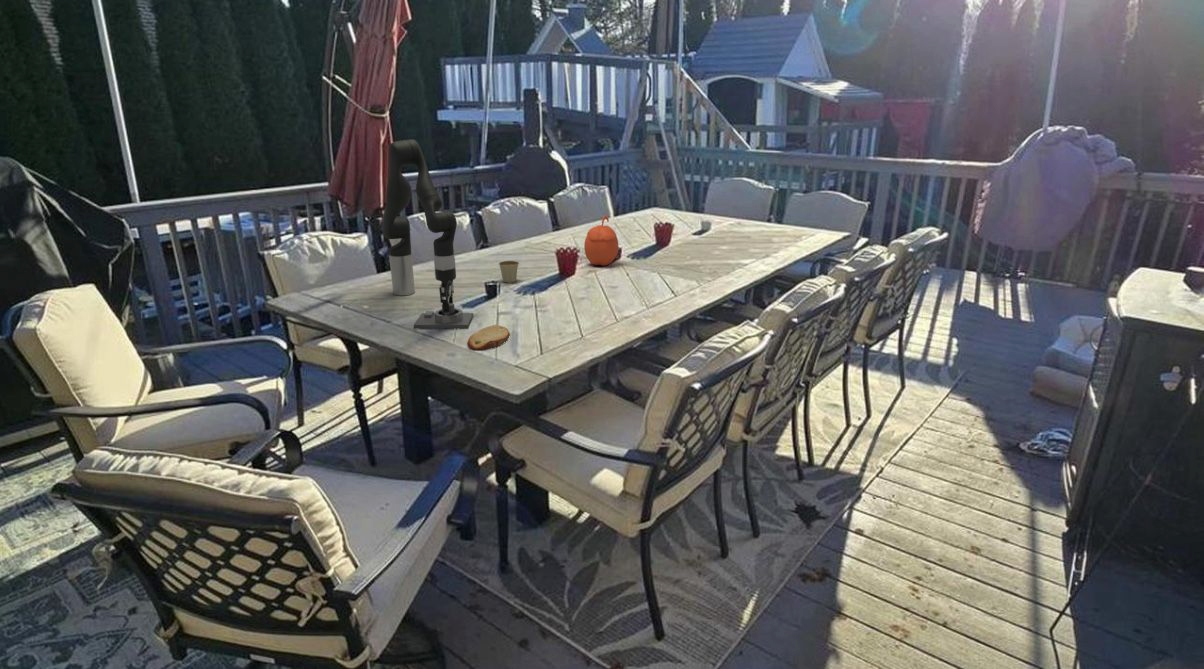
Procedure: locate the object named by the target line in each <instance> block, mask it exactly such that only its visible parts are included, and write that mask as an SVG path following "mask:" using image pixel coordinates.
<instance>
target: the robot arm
mask: <svg viewBox="0 0 1204 669" xmlns="http://www.w3.org/2000/svg"><path fill="white" fill-rule="evenodd" d="M387 157H388V175H387V176H388V177H387V185H386V193H385V194H386V196H385V197H386V198H385V207H384V208H385V209H384V214H383V218H382V226H381V227H382V229H381V231H382V234H383V236H384V238H385V239H387V240H399V239H400V241H399V242H398V243H396V244H394V245H392V246H389V248H388V257H389V258H388V260H389V265H390V266H389V267H390V274H391V276H390V277H391V285H392V294H393V295H394V296H409V295H413V294H415V293H416V290H415V288H416V287H415V277H414V268H413V254H412V243H411V242H412V241H411V225H410V224H411V223H410V221H409V218H408V217H407V216H405V215H400V214H401V213H402V212H403V211H404V210H405V209H406V208H407V207H408V205H409V204H410V202H411V197H412V196H411V195H412V185H411V183H410V182H409V180H408V179H407V177H405V176H404V174H403V173H402V172H401V169H402V168H403V167H410V166H415V167H416V169H417V171H418V172H417V179H416V185H415V192H416V196H417V198H418V200H419V202H420V204H421V206H422V208H423V212H424V215H425V216H424V217H425V222H426V223H425V224H426V226H427V228H428V230H429V231H430V232H431V233H434V234H438V233H442V234H441V236H440V237H437V238H436V239H434V241H433V253H434V254H433V256H434V257H433V258H434V259H433V262H434V274H435V275H434V276H435V280H436V281H439V282H441V284H440V285H439V288H438V290H439V298H440V300H439V302H440V303H441V304H443V312H444V313H448V312H449V303H453V304H454V298H453V296H454V292H455V290H454V289H455V288H454V280H456V278H457V271H456V268H457V267H456V259H455V258H456V257H455V253H454V252H455V251H454V250H455V249H454V240H455V236H456V230H457V224H458V223H457V222H458V221H457V217H456V215H455V214H454V212H452V211H442V212H441V211H440V209H441V208H442V207H443V201H442V198H441V197H440V195H439V193H438V191H437V188H436V187H435V185H434V182H433V180H432V177H431V174H430V172H429V168H428V165H427V162H426V160H425V156H424V154H423V151H422V149H421V146H420V144H419V143H418V141H417V140H415V139H413V138H411V139H405V140H396V141H392V142H391V143H390V144H389V146H388V155H387ZM438 211H439V212H438ZM398 215H399V216H398Z"/></svg>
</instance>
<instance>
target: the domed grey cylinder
mask: <svg viewBox="0 0 1204 669" xmlns="http://www.w3.org/2000/svg"><path fill="white" fill-rule="evenodd" d="M454 308H455V304H454V302H453V303H449V312H448V313H444V312H443V303H441V309H442V315H455V309H454Z"/></svg>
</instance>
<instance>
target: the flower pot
mask: <svg viewBox="0 0 1204 669" xmlns="http://www.w3.org/2000/svg"><path fill="white" fill-rule="evenodd" d="M519 264H520V262H519V261H516V260H503V261H500V262H498V265H499V269H500V272H501V277H502V282H503V283H509V284H510V283H514V282H517V279H518V278H517V276H518V269H519V268H518V267H519Z"/></svg>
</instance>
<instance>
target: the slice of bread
mask: <svg viewBox="0 0 1204 669" xmlns="http://www.w3.org/2000/svg"><path fill="white" fill-rule="evenodd" d="M509 336H511V333H510V331H509V329H508V328H507V327H504V326H502V325H497V324H493V325H490V326H486V327H484V328H482V329H480V330H478V331H477V332H474V333H473V334H471V335H470V336H469V338H468V340H467V343H466V345H467V347H468V348H469V349H470V350H471V351H473V352H475V351H477V352H483V350H484V351H487V350H490V349H491V348H492V349H495V347H496V348H498V346H499V347H500V346H502V345H504V344H505V343H507V342H506V341H508V340H509V339H510V338H509ZM508 338H509V339H508ZM507 339H508V340H507ZM504 342H505V343H504ZM503 343H504V344H503ZM501 344H502V345H501Z"/></svg>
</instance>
